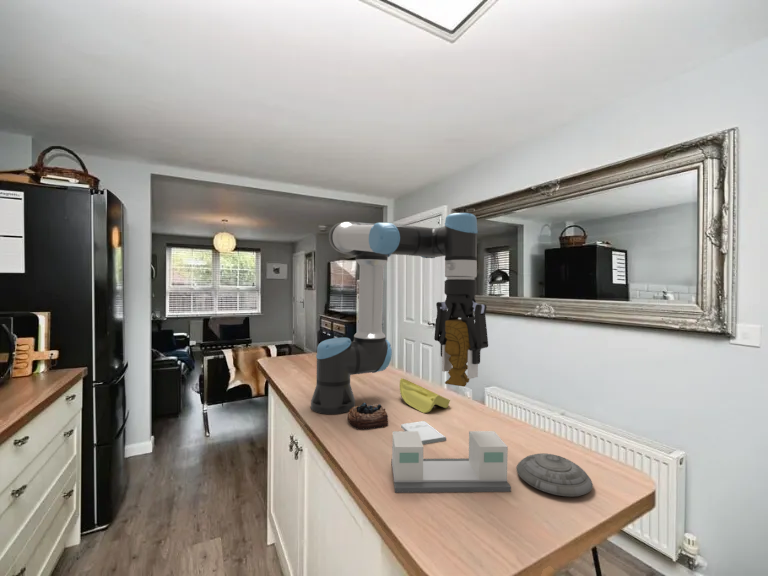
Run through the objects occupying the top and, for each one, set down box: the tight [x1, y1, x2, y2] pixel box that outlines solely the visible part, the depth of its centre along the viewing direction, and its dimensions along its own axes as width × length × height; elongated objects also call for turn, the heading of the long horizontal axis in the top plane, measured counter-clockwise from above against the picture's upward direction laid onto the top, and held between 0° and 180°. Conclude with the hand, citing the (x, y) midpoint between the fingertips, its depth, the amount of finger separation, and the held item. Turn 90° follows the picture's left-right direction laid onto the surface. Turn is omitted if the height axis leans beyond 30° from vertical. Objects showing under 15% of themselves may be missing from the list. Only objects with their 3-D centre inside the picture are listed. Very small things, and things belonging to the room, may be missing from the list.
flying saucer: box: [515, 452, 594, 497], centre depth 77 cm, size 15×15×6 cm
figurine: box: [444, 318, 471, 387], centre depth 84 cm, size 7×6×15 cm
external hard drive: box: [400, 420, 447, 445], centre depth 101 cm, size 2×8×12 cm
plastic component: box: [399, 378, 451, 414], centre depth 127 cm, size 20×7×10 cm
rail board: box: [391, 430, 512, 494], centre depth 78 cm, size 12×24×8 cm, turn 92°
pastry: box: [347, 402, 389, 431], centre depth 108 cm, size 11×12×6 cm
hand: (459, 373), depth 84 cm, fingers closed on figurine, 7 cm apart
